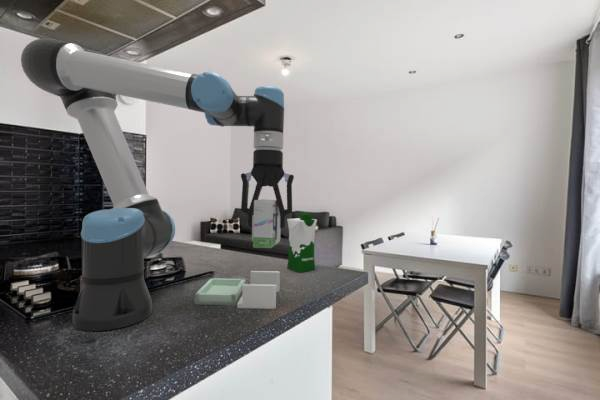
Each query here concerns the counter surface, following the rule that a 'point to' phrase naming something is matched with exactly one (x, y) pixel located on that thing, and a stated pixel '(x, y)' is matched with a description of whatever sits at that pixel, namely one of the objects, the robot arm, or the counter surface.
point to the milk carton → (301, 243)
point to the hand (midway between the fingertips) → (266, 240)
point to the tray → (220, 292)
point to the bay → (260, 290)
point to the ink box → (265, 223)
